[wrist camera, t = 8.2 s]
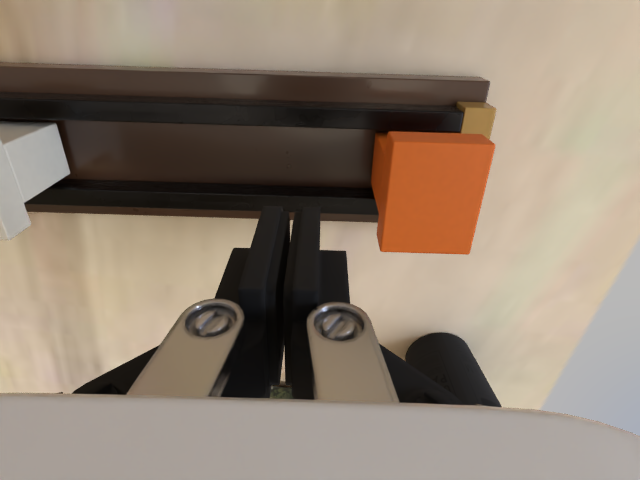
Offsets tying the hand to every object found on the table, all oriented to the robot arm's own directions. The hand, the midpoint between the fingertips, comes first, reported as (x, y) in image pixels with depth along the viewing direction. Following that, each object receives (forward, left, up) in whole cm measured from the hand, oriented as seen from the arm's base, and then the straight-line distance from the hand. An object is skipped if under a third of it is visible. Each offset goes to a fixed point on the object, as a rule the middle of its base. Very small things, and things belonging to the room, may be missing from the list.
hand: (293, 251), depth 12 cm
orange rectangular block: (+1, +5, -11) cm, 12 cm away
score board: (+1, -6, -13) cm, 14 cm away
